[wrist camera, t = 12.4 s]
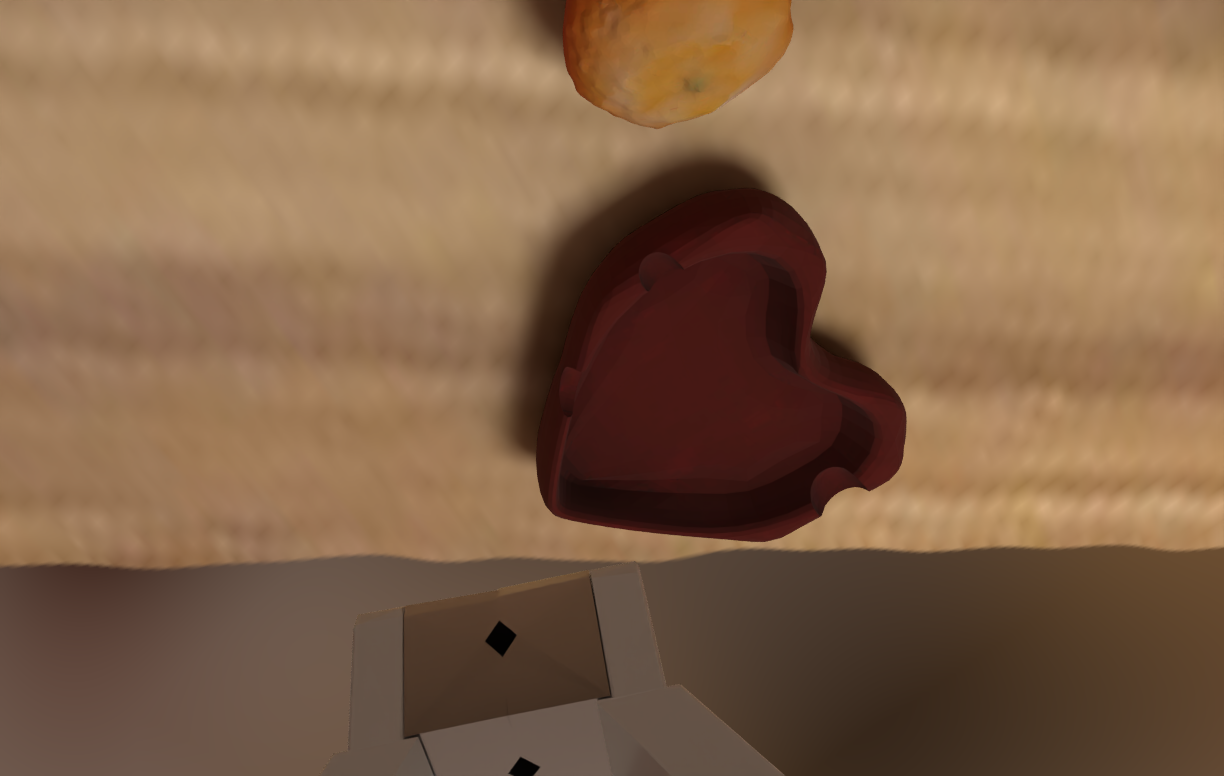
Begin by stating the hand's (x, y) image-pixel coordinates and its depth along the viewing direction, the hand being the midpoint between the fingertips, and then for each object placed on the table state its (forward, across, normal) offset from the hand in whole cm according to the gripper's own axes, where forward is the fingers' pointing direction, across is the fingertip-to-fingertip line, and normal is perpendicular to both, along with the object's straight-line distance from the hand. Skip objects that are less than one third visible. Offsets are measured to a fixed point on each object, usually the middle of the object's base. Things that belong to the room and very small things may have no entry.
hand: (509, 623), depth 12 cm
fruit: (+33, -7, +5) cm, 35 cm away
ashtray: (+33, -7, +23) cm, 41 cm away
